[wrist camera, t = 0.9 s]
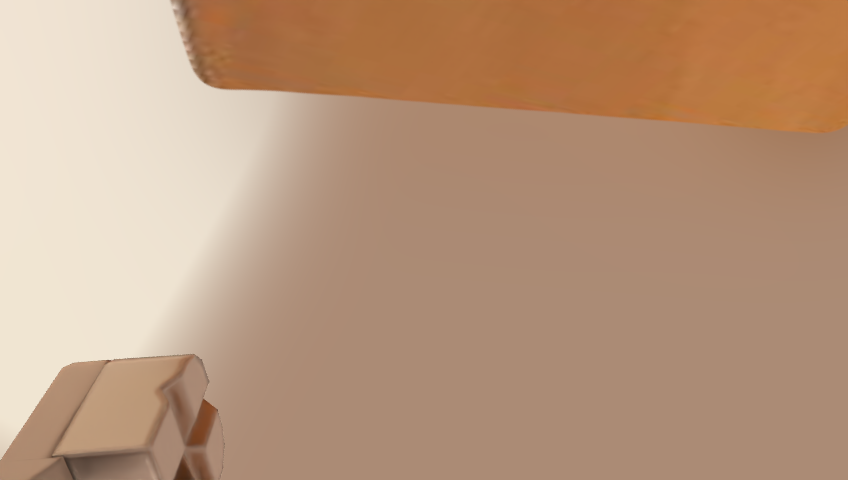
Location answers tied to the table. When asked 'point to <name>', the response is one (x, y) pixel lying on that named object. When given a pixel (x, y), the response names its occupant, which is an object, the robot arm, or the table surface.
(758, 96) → the table surface
